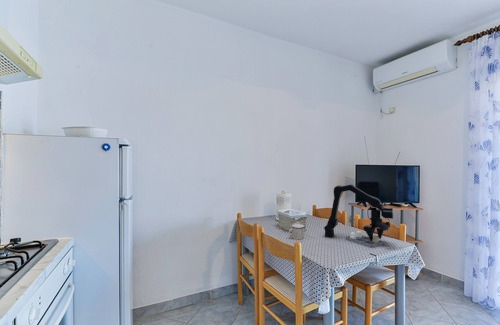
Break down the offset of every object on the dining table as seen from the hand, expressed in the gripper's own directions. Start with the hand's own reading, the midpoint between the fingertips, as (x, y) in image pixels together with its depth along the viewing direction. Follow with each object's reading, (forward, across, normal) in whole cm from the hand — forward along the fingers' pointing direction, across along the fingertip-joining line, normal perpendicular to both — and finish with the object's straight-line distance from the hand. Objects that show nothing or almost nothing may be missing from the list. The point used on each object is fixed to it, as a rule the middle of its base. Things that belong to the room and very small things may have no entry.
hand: (375, 239), depth 165 cm
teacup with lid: (+4, -36, +39) cm, 54 cm away
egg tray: (+4, -3, +6) cm, 8 cm away
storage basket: (+4, -23, +61) cm, 65 cm away
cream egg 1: (+3, -6, +13) cm, 15 cm away
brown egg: (+3, 0, 0) cm, 3 cm away
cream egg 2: (+3, 0, +13) cm, 13 cm away
